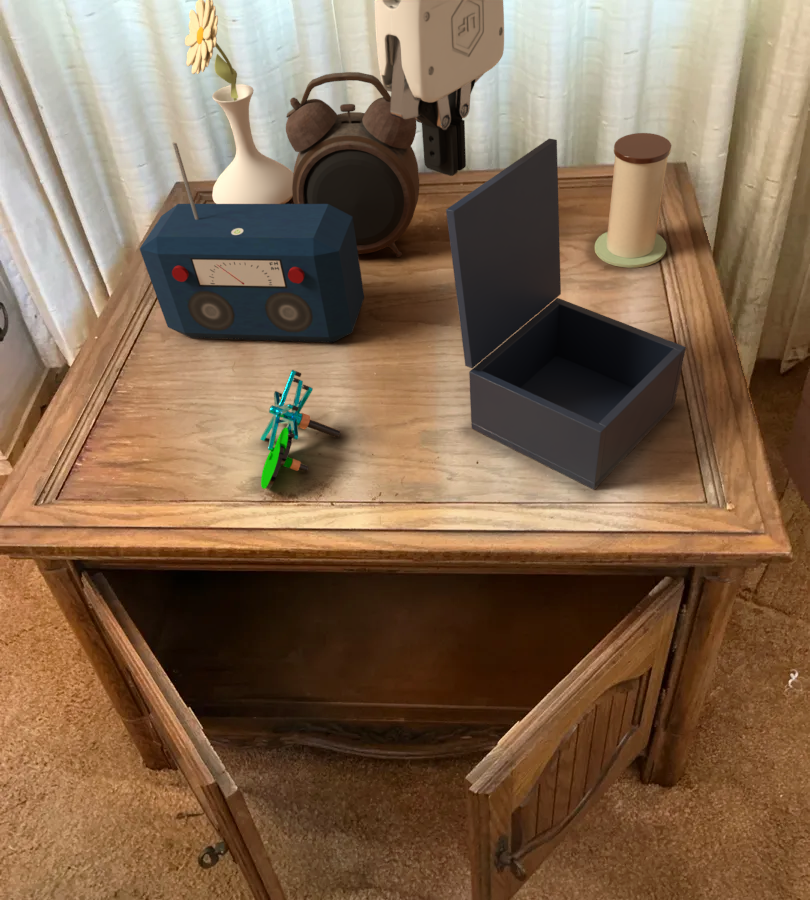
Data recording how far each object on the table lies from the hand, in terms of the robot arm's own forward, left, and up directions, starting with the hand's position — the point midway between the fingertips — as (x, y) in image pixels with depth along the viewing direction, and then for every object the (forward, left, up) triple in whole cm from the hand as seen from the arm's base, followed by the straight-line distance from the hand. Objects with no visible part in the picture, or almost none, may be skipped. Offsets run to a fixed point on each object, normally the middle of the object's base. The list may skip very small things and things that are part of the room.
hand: (445, 167), depth 71 cm
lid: (-6, +4, -6) cm, 9 cm away
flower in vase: (+31, -32, -21) cm, 49 cm away
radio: (+22, -6, -21) cm, 31 cm away
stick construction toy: (+13, +14, -21) cm, 28 cm away
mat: (-17, -22, -21) cm, 35 cm away
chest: (-12, +7, -21) cm, 25 cm away
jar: (-17, -22, -20) cm, 35 cm away
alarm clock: (+14, -21, -21) cm, 32 cm away
